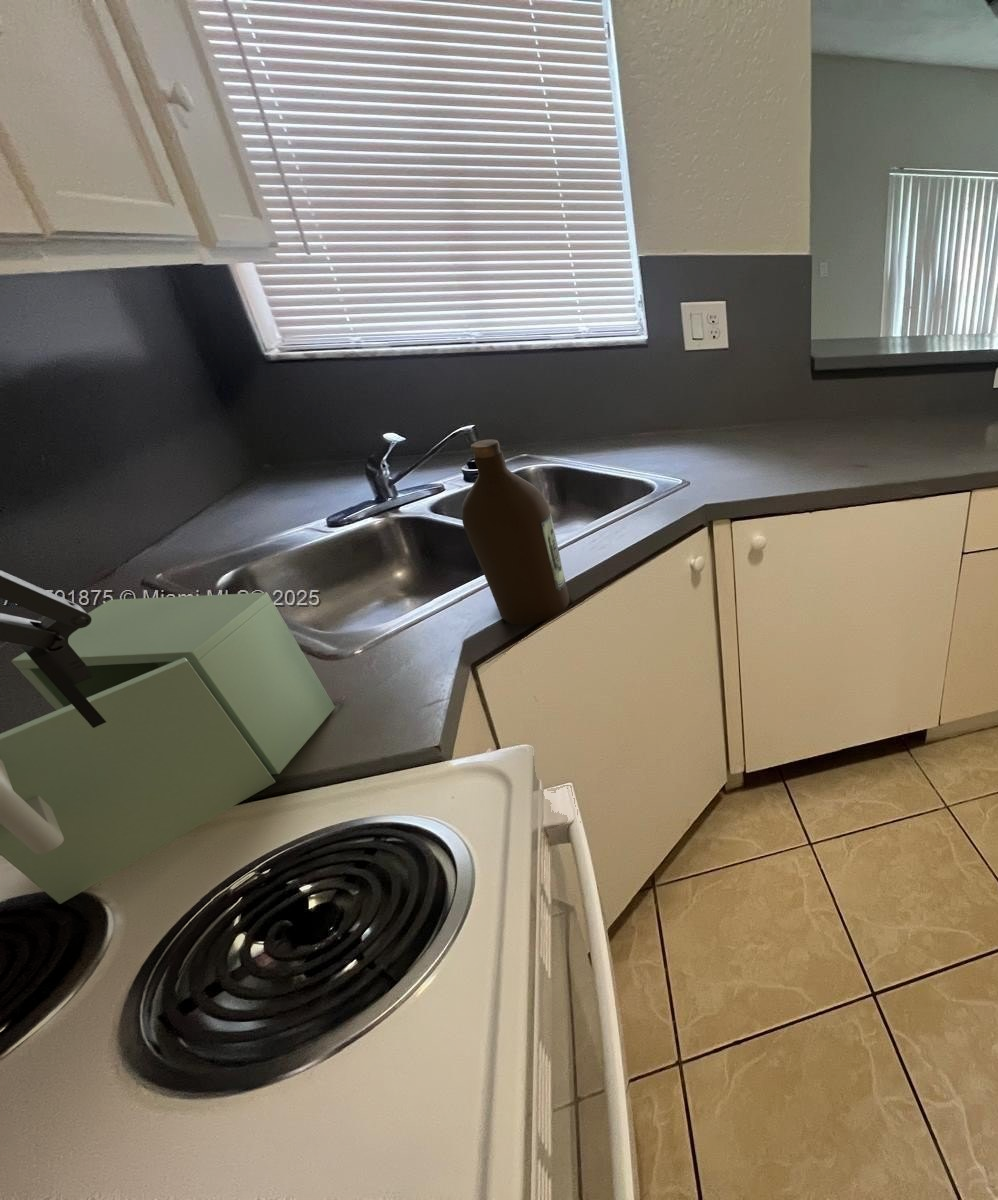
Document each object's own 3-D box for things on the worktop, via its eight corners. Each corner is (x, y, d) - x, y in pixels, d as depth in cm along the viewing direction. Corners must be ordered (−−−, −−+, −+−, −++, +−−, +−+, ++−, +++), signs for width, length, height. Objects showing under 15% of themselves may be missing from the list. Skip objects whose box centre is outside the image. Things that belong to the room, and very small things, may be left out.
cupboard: (283, 781, 65) (191, 652, 56) (128, 788, 65) (9, 660, 56) (339, 714, 74) (267, 592, 64) (201, 720, 73) (109, 599, 64)
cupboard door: (302, 815, 61) (209, 685, 52) (81, 950, 51) (-85, 817, 42) (276, 783, 65) (184, 656, 56) (64, 904, 54) (-93, 771, 45)
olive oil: (498, 640, 85) (434, 464, 71) (497, 602, 93) (439, 437, 79) (579, 621, 88) (532, 449, 74) (571, 585, 96) (527, 424, 83)
